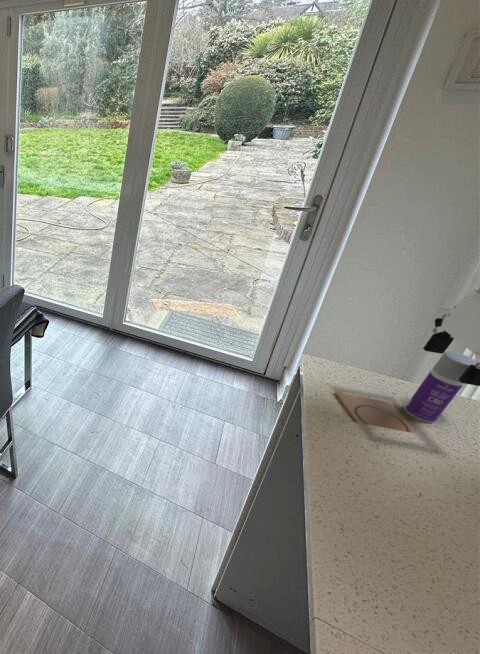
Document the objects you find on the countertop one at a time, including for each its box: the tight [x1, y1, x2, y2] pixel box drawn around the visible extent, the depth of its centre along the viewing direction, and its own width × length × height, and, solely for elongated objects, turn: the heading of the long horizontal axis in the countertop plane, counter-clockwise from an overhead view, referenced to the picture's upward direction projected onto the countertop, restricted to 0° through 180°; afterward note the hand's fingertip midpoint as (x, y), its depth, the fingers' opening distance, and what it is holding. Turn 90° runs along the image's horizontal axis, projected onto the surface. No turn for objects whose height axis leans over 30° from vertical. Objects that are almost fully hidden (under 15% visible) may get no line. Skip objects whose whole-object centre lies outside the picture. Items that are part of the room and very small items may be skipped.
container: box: [404, 350, 475, 424], centre depth 82 cm, size 5×5×15 cm
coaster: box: [334, 391, 417, 435], centre depth 84 cm, size 10×14×1 cm
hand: (449, 366), depth 80 cm, fingers open, 9 cm apart
